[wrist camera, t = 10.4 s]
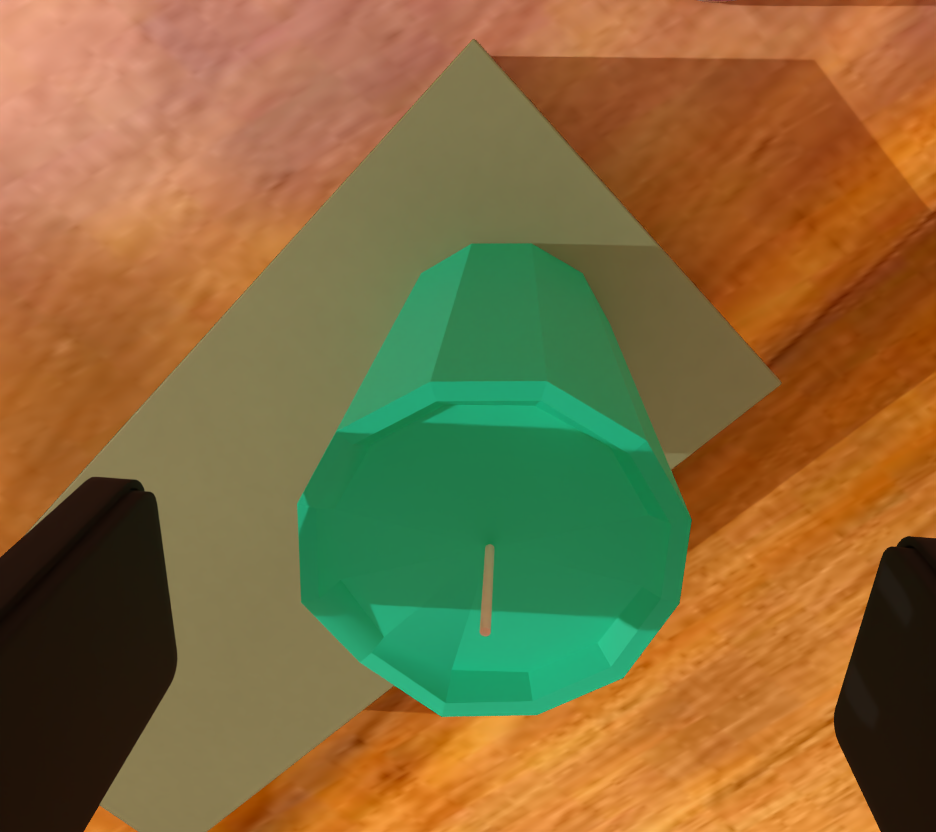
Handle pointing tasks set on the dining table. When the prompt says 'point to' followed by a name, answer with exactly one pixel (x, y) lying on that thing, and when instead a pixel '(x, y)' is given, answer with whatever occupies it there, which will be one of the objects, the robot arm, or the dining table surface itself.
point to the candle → (495, 496)
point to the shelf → (327, 400)
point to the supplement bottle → (715, 0)
